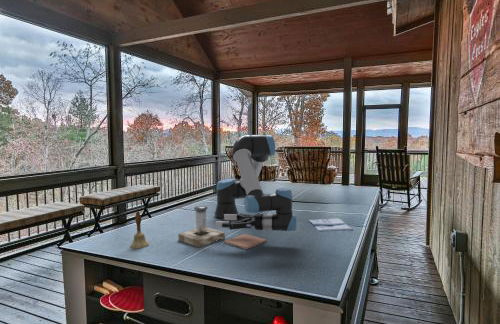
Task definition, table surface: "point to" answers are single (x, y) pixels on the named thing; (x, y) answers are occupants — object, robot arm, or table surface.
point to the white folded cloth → (335, 224)
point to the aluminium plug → (201, 220)
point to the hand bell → (139, 235)
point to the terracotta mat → (245, 241)
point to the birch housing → (201, 237)
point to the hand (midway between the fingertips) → (220, 220)
